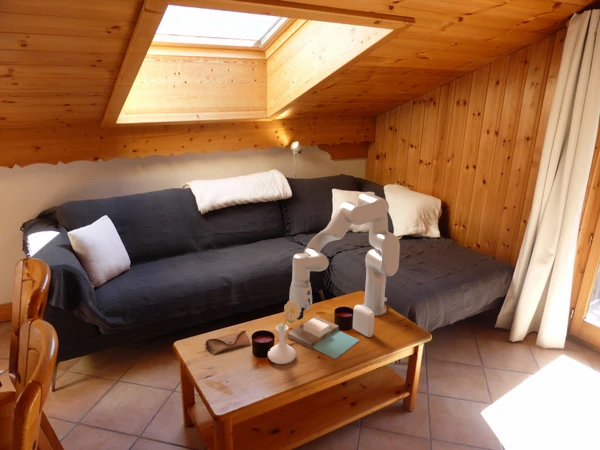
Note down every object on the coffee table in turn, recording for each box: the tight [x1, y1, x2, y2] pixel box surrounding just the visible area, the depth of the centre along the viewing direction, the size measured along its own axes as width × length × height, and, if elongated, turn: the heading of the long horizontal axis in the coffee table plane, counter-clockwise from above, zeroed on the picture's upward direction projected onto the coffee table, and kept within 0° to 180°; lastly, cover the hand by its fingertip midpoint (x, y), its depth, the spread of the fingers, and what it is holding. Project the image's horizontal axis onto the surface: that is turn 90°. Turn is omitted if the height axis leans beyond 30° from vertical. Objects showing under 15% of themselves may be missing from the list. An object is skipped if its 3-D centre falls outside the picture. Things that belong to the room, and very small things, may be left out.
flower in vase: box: [267, 299, 301, 365], centre depth 161 cm, size 13×11×25 cm
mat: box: [311, 330, 361, 360], centre depth 174 cm, size 18×12×1 cm, turn 139°
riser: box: [287, 315, 340, 349], centre depth 181 cm, size 20×13×2 cm, turn 139°
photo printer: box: [352, 304, 375, 338], centre depth 182 cm, size 10×4×12 cm, turn 39°
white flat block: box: [302, 317, 329, 337], centre depth 180 cm, size 7×9×3 cm
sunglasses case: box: [205, 330, 252, 356], centre depth 172 cm, size 18×7×7 cm, turn 120°
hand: (299, 318), depth 185 cm, fingers closed
